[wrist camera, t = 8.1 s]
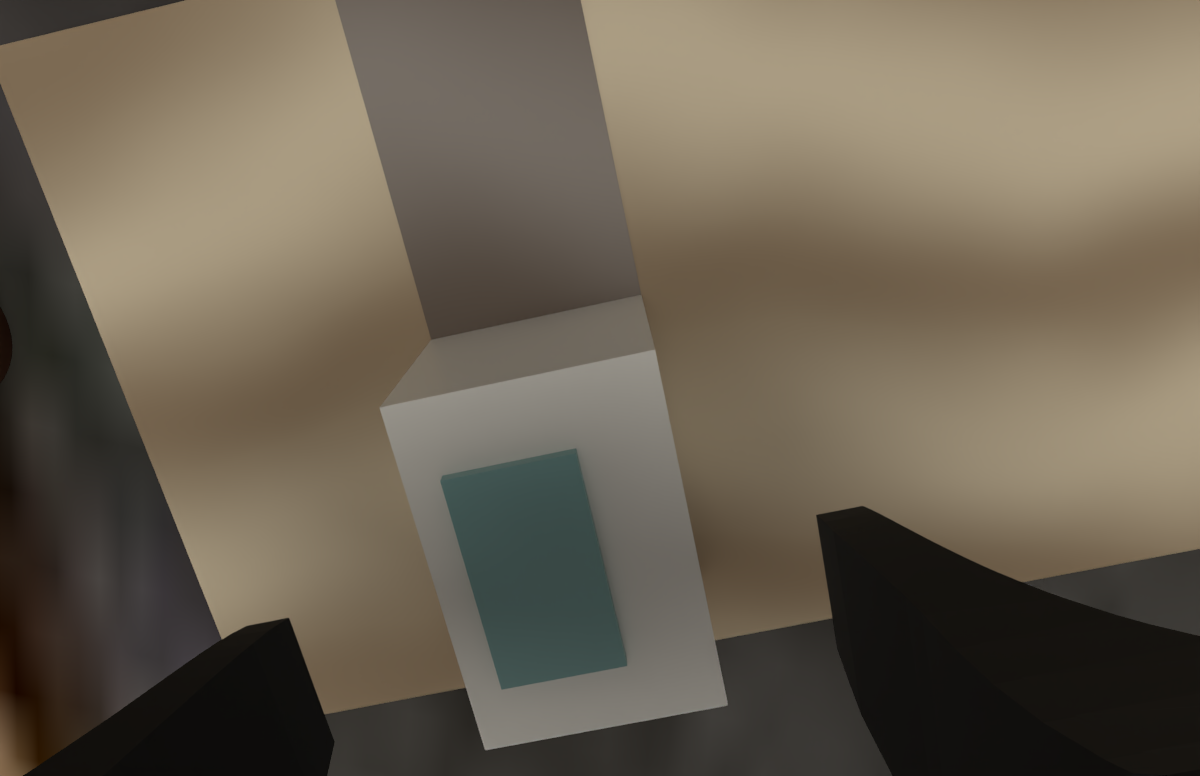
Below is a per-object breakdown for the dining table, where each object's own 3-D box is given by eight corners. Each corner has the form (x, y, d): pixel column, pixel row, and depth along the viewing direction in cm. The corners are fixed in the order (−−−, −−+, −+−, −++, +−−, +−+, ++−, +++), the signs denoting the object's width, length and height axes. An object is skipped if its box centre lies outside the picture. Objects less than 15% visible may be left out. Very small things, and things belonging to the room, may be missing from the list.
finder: (699, 578, 18) (729, 714, 14) (509, 615, 18) (483, 758, 14) (641, 294, 16) (655, 353, 12) (431, 339, 16) (376, 411, 12)
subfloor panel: (1257, 503, 18) (1302, 530, 17) (276, 691, 20) (256, 727, 19) (1263, -245, 14) (1322, -277, 13) (31, 54, 16) (-15, 49, 15)
